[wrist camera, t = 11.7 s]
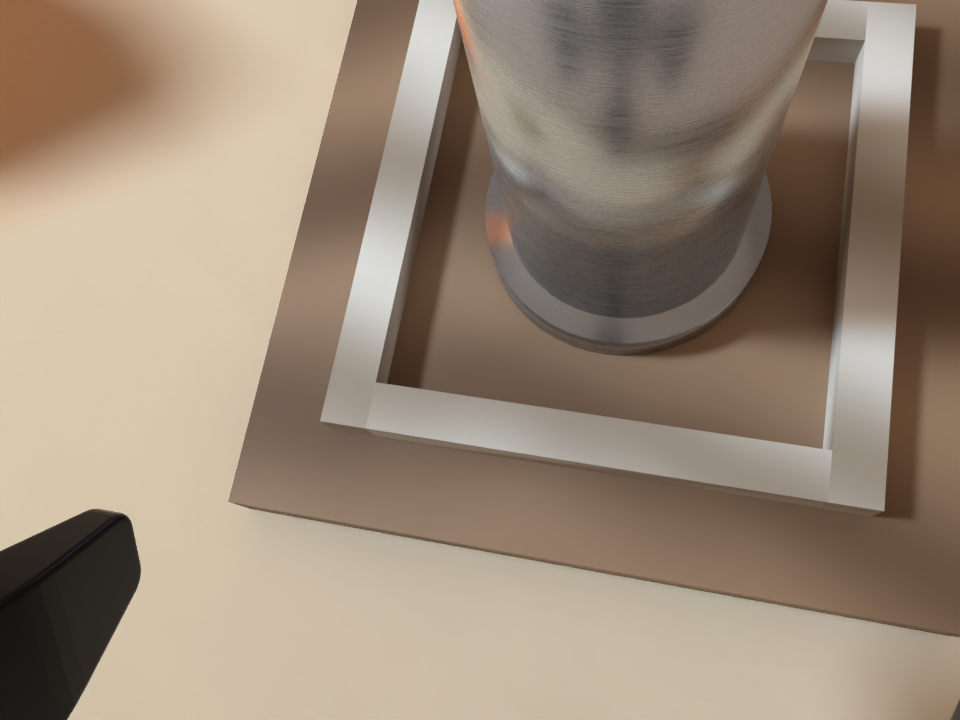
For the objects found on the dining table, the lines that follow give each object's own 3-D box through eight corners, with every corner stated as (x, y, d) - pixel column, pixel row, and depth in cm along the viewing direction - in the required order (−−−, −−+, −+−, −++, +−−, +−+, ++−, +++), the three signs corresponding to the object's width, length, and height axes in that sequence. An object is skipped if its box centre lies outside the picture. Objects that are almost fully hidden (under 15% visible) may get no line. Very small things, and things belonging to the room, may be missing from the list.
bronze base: (948, 635, 21) (992, 637, 19) (250, 508, 24) (212, 496, 22) (975, 0, 26) (1013, -64, 23) (386, -35, 29) (367, -94, 26)
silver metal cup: (770, 356, 22) (985, 11, 9) (484, 355, 23) (344, 43, 11) (757, 103, 24) (922, -454, 11) (495, 113, 25) (388, -389, 13)
